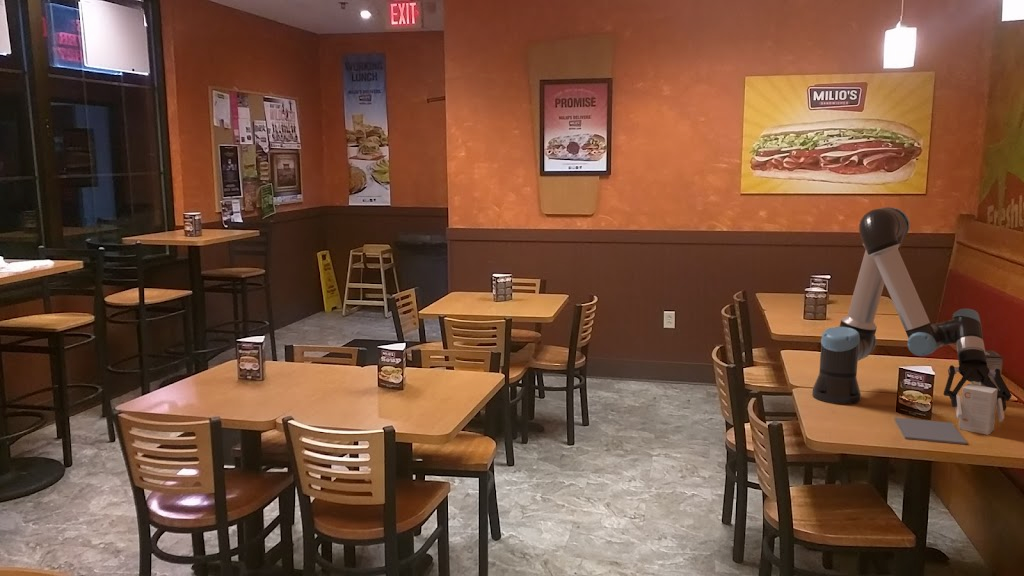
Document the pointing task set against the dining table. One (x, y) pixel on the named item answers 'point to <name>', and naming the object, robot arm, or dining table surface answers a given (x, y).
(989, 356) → the coffee box
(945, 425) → the slate mat
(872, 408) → the dining table surface
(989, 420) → the small box
